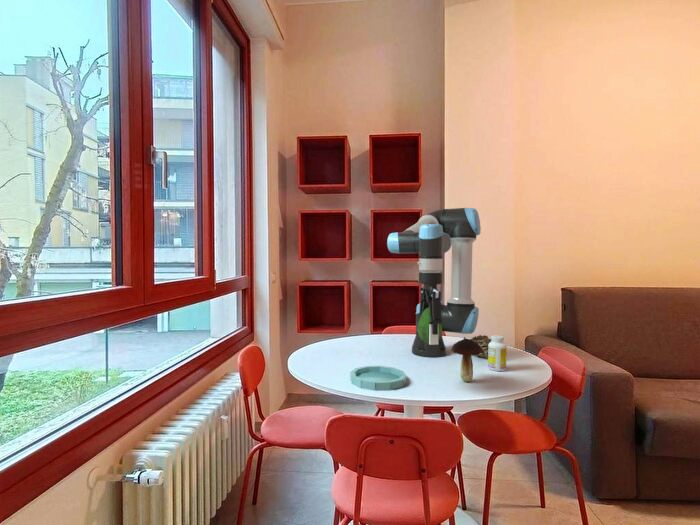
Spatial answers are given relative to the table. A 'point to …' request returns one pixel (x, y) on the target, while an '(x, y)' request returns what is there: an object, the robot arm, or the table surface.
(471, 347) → the decorative mushroom
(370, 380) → the dish
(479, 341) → the pine cone
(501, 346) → the supplement bottle
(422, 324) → the avocado
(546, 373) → the table surface
